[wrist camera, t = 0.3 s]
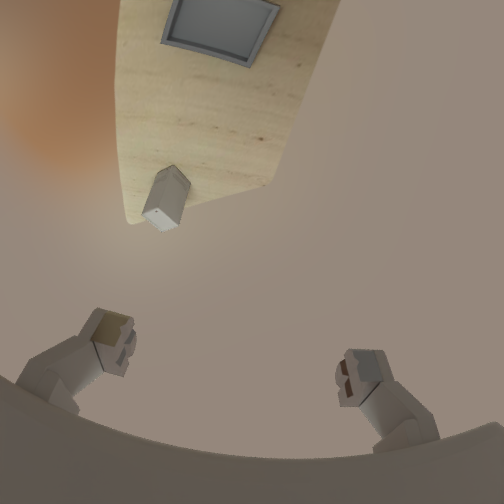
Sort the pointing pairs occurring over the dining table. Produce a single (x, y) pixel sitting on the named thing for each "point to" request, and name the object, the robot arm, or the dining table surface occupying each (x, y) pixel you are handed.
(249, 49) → the parts tray
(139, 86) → the dining table surface
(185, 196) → the skincare box
